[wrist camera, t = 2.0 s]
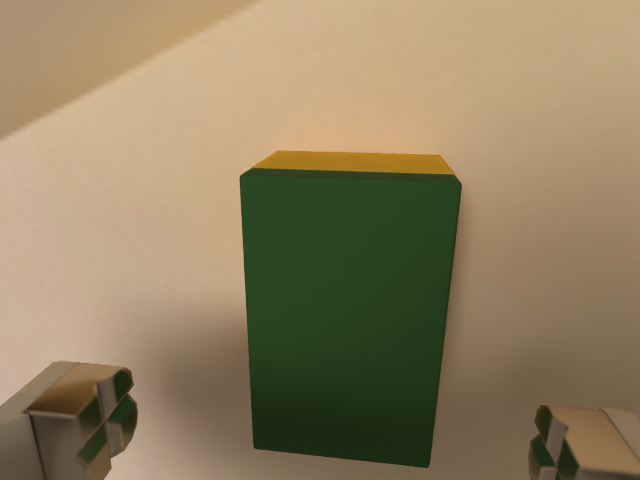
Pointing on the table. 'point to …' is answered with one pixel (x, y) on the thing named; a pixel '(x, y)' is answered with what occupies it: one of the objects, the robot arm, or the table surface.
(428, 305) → the sponge
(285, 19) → the table surface
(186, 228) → the table surface
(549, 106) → the table surface
